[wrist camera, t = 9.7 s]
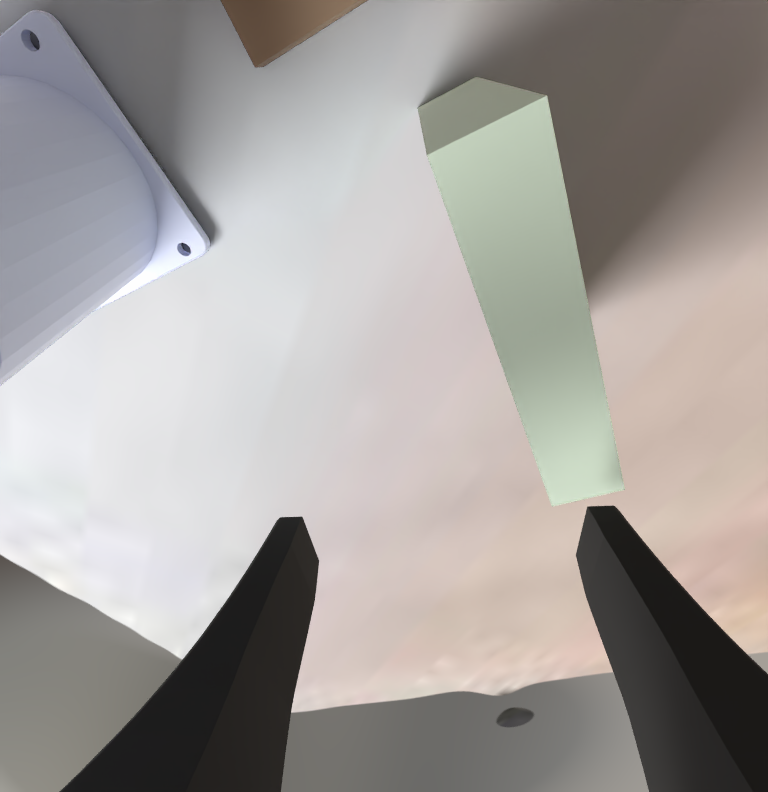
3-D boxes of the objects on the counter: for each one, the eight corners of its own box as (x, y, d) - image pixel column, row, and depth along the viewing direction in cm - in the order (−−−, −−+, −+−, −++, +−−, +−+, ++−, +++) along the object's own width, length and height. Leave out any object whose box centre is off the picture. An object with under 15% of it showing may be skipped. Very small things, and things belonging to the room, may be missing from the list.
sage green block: (500, 346, 20) (551, 506, 13) (417, 107, 14) (427, 155, 7) (544, 331, 19) (624, 489, 12) (475, 76, 14) (547, 95, 7)
